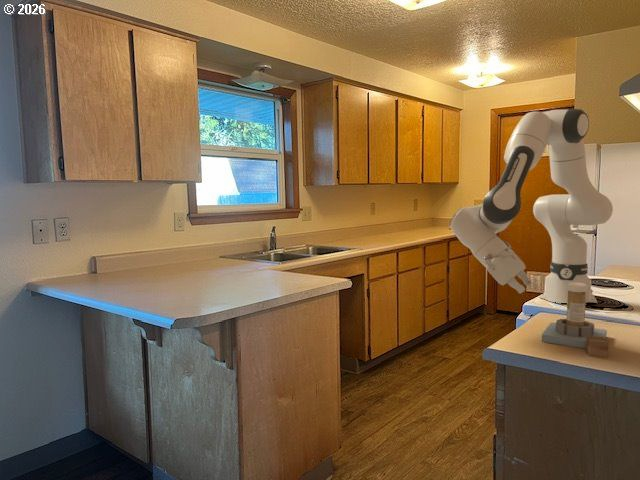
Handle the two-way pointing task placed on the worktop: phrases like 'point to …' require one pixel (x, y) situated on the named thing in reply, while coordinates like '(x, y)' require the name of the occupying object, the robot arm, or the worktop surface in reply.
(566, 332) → the hub board
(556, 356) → the worktop surface
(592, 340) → the walnut block
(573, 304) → the sprinkles bottle
